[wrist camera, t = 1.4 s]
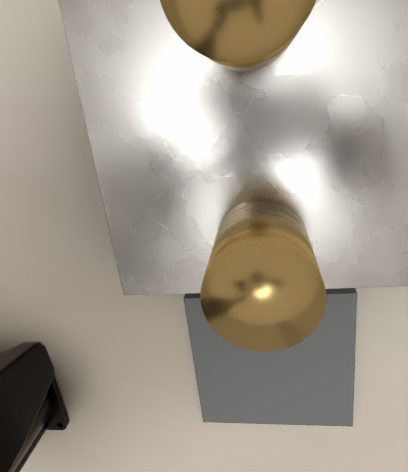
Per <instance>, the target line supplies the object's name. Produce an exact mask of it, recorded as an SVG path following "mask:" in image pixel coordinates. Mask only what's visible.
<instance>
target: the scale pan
mask: <svg viewBox="0 0 408 472" xmlns="http://www.w3.org/2000/svg"><path fill="white" fill-rule="evenodd" d="M58 2H59V6H60V11H61V15H62V20H63V24H64V29H65V33H66V38H67V42H68V47H69V51H70V56H71V60H72V65H73V69H74V74H75V78H76V83H77V87H78V92H79V96H80V101H81V105H82V110H83V114H84V119H85V123H86V128H87V132H88V136H89V141H90V145H91V150H92V154H93V159H94V163H95V168H96V172H97V177H98V181H99V186H100V190H101V195H102V199H103V204H104V208H105V213H106V217H107V222H108V226H109V231H110V235H111V240H112V244H113V249H114V253H115V258H116V262H117V267H118V271H119V276H120V280H121V285H122V289H123V294H124V296H125V295H155V294H185V293H200V292H201V286H202V282H203V278H204V275H205V272H206V268H207V265H208V262H209V258H210V255H211V252H212V249H213V245H214V242H215V239H216V235H217V232H218V229H219V226H220V224H221V222H222V220H223V218H224V217H225V216H226V214H227V213H228V212H229V211H230V210H231V209H233V208H234V207H235V206H237V205H238V204H240V203H242V202H245V201H248V200H251V199H257V198H267V199H273V200H277V201H280V202H282V203H284V204H286V205H288V206H290V207H291V208H292V209H293V210H295V211H296V212H297V213H298V215H299V216H300V217H301V219H302V220H303V222H304V224H305V227H306V229H307V233H308V236H309V239H310V242H311V245H312V248H313V251H314V254H315V257H316V260H317V263H318V266H319V270H320V273H321V276H322V279H323V282H324V285H325V289H337V288H368V287H398V286H408V0H317V1H316V3H315V6H314V7H313V9H312V11H311V13H310V15H309V17H308V18H307V20H306V21H305V23H304V24H303V26H302V27H301V29H300V30H299V32H298V33H297V35H296V36H295V38H294V39H293V41H292V42H291V44H290V45H289V47H288V48H287V49H286V51H285V52H284V53H283V54H282V55H281V56H280V57H279V58H277V59H276V60H275V61H273V62H272V63H271V64H269V65H267V66H265V67H263V68H260V69H257V70H253V71H234V70H229V69H227V68H224V67H222V66H220V65H218V64H217V63H215V62H213V61H211V60H210V59H208V58H206V57H205V56H203V55H201V54H199V53H198V52H196V51H194V50H193V49H192V48H191V47H189V46H188V45H187V44H186V43H185V42H184V41H183V40H182V39H181V38H180V37H179V36H178V35H177V33H176V32H175V31H174V30H173V28H172V26H171V25H170V23H169V21H168V20H167V18H166V16H165V13H164V11H163V9H162V6H161V3H160V0H58Z"/></svg>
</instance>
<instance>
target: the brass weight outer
mask: <svg viewBox="0 0 408 472" xmlns="http://www.w3.org/2000/svg"><path fill="white" fill-rule="evenodd" d="M316 1H317V0H160V3H161V6H162V9H163V11H164V13H165V16H166V18H167V20H168V21H169V23H170V25H171V26H172V28H173V30H174V31H175V32H176V33H177V35H178V36H179V37H180V38H181V39H182V40H183V41H184V42H185V43H186V44H187V45H188V46H189V47H191V48H192V49H193V50H194V51H196V52H198V53H199V54H201V55H203V56H205V57H206V58H208V59H210V60H211V61H213V62H215V63H217V64H218V65H220V66H222V67H224V68H227V69H229V70H234V71H253V70H257V69H260V68H263V67H265V66H267V65H269V64H271V63H272V62H273V61H275V60H276V59H277V58H279V57H280V56H281V55H282V54H283V53H284V52H285V51H286V49H287V48H288V47H289V45H290V44H291V42H292V41H293V39H294V38H295V36H296V35H297V33H298V32H299V30H300V29H301V27H302V26H303V24H304V23H305V21H306V20H307V18H308V17H309V15H310V13H311V11H312V9H313V7H314V6H315V3H316Z"/></svg>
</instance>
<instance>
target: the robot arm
mask: <svg viewBox="0 0 408 472" xmlns="http://www.w3.org/2000/svg"><path fill="white" fill-rule="evenodd" d="M68 423H69V422H68V418H67V415H66V412H65V409H64V406H63V403H62V400H61V397H60V394H59V391H58V388H57V385H56V382H55V379H54V368H53V365H52V362H51V360H50V357H49V355H48V352H47V350H46V347H45V345H44V344H43V343H41V342H24V343H22V344H20V345H18V346H16V347H14V348H12V349H11V350H9V351H7V352H5V353H3V354H1V355H0V472H20V470H21V469H22V467H23V465H24V464H25V462H26V461H27V459H28V457H29V456H30V454H31V453H32V451H33V450H34V448H35V446H36V445H37V443H38V442H39V440H40V438H41V437H42V435H43V434H44V432H45V430H64V429H66V427H67V425H68Z"/></svg>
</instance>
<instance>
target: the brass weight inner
mask: <svg viewBox="0 0 408 472" xmlns="http://www.w3.org/2000/svg"><path fill="white" fill-rule="evenodd" d="M200 300H201V306H202V310H203V313H204V316H205V318H206V319H207V321H208V323H209V324H210V326H211V327H212V328H213V329H214V330H215V332H216V333H217V334H219V335H220V336H221V337H222V338H224V339H225V340H227V341H228V342H230V343H232V344H234V345H236V346H238V347H241V348H244V349H248V350H252V351H261V352H269V351H278V350H283V349H286V348H289V347H292V346H294V345H296V344H298V343H300V342H302V341H303V340H305V339H306V338H307V337H309V336H310V335H311V334H312V333H313V332H314V330H315V329H316V328H317V327H318V325H319V324H320V322H321V320H322V318H323V315H324V313H325V308H326V300H327V297H326V289H325V285H324V282H323V279H322V276H321V273H320V270H319V266H318V263H317V260H316V257H315V254H314V251H313V248H312V245H311V242H310V239H309V236H308V233H307V229H306V227H305V224H304V222H303V220H302V219H301V217H300V216H299V215H298V213H297V212H296V211H295V210H293V209H292V208H291V207H290V206H288V205H286V204H284V203H282V202H280V201H277V200H273V199H267V198H257V199H251V200H248V201H245V202H242V203H240V204H238V205H237V206H235V207H234V208H233V209H231V210H230V211H229V212H228V213H227V214H226V216H225V217H224V218H223V220H222V222H221V224H220V226H219V229H218V232H217V235H216V239H215V242H214V245H213V249H212V252H211V255H210V258H209V262H208V265H207V268H206V272H205V275H204V278H203V282H202V286H201V292H200Z"/></svg>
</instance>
